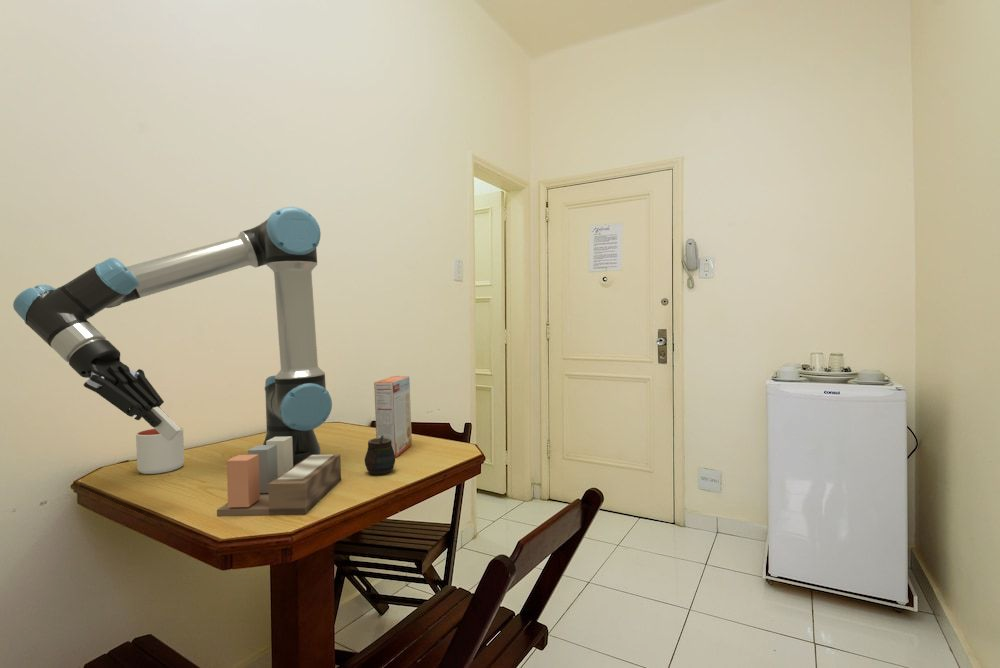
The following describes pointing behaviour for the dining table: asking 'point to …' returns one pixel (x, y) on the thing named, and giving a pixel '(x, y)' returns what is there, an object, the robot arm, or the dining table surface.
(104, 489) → the dining table surface
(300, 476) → the key console
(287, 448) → the ivory key
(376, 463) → the mate gourd
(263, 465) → the slate key
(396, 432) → the cracker box
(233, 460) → the pink tall block
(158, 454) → the cup
